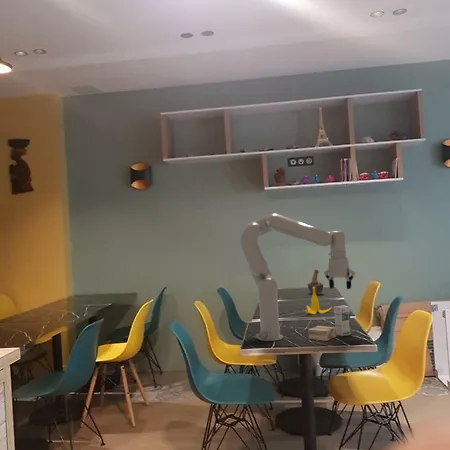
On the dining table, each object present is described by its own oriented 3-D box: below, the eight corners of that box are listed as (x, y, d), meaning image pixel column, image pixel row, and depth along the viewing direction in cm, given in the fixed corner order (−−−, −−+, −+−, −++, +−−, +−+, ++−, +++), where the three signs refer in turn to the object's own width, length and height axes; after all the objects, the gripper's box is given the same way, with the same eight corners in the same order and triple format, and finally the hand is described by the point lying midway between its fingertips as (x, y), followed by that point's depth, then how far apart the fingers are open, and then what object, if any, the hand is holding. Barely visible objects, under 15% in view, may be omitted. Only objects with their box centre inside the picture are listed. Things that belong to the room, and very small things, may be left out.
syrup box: (342, 336, 258) (340, 307, 259) (335, 334, 264) (333, 306, 264) (351, 334, 261) (350, 306, 261) (344, 332, 266) (343, 304, 266)
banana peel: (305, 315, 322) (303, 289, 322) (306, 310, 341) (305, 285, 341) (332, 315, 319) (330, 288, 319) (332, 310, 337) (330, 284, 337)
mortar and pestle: (322, 296, 401) (320, 270, 401) (302, 295, 410) (300, 270, 410) (329, 293, 413) (327, 268, 413) (309, 293, 422) (308, 268, 423)
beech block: (326, 341, 251) (325, 331, 251) (308, 339, 257) (308, 329, 257) (336, 337, 258) (335, 327, 258) (318, 335, 265) (318, 325, 265)
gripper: (319, 255, 266) (321, 288, 266) (349, 255, 254) (352, 290, 254) (327, 254, 271) (329, 286, 271) (357, 254, 260) (359, 288, 260)
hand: (340, 288), depth 263 cm, fingers open, 9 cm apart
